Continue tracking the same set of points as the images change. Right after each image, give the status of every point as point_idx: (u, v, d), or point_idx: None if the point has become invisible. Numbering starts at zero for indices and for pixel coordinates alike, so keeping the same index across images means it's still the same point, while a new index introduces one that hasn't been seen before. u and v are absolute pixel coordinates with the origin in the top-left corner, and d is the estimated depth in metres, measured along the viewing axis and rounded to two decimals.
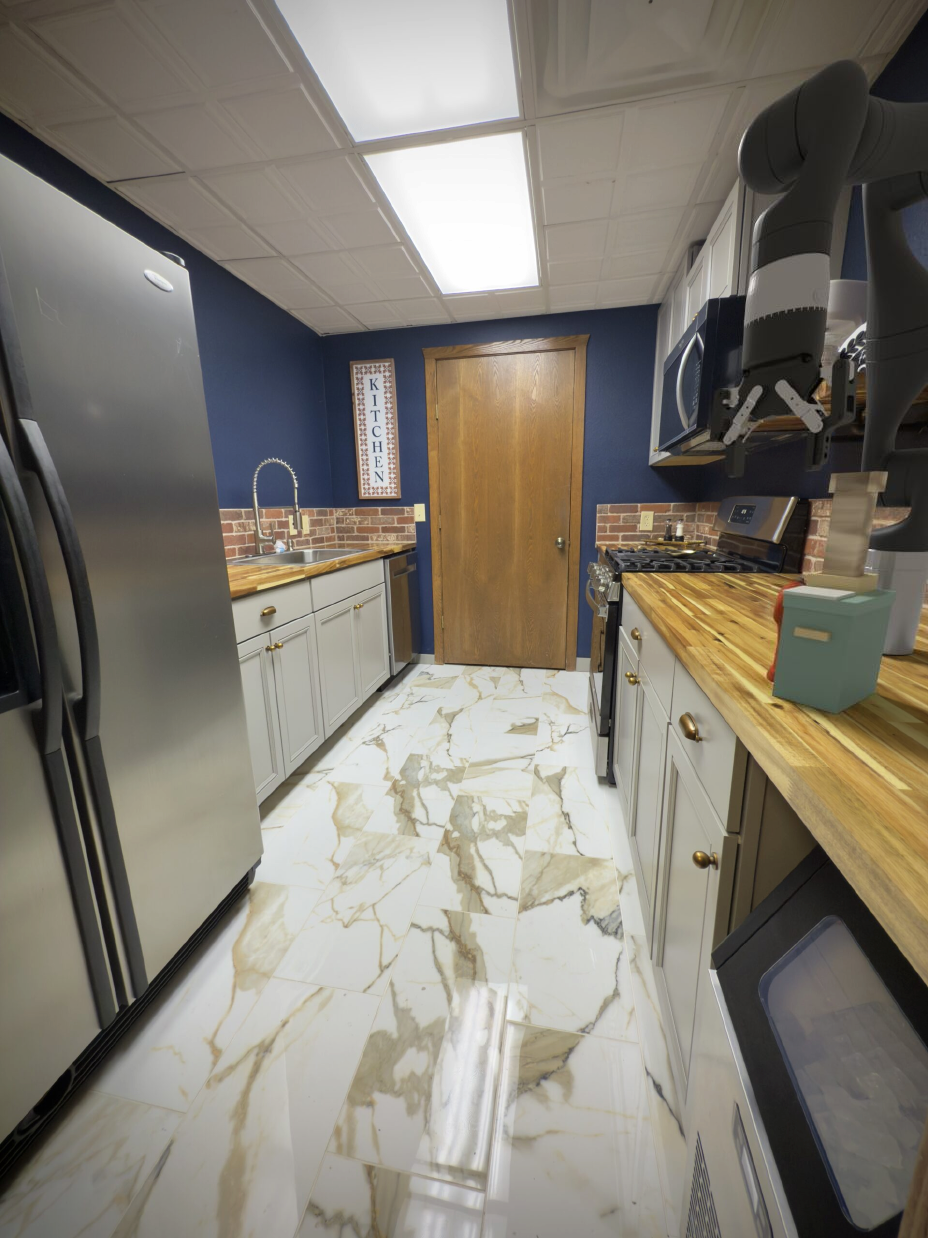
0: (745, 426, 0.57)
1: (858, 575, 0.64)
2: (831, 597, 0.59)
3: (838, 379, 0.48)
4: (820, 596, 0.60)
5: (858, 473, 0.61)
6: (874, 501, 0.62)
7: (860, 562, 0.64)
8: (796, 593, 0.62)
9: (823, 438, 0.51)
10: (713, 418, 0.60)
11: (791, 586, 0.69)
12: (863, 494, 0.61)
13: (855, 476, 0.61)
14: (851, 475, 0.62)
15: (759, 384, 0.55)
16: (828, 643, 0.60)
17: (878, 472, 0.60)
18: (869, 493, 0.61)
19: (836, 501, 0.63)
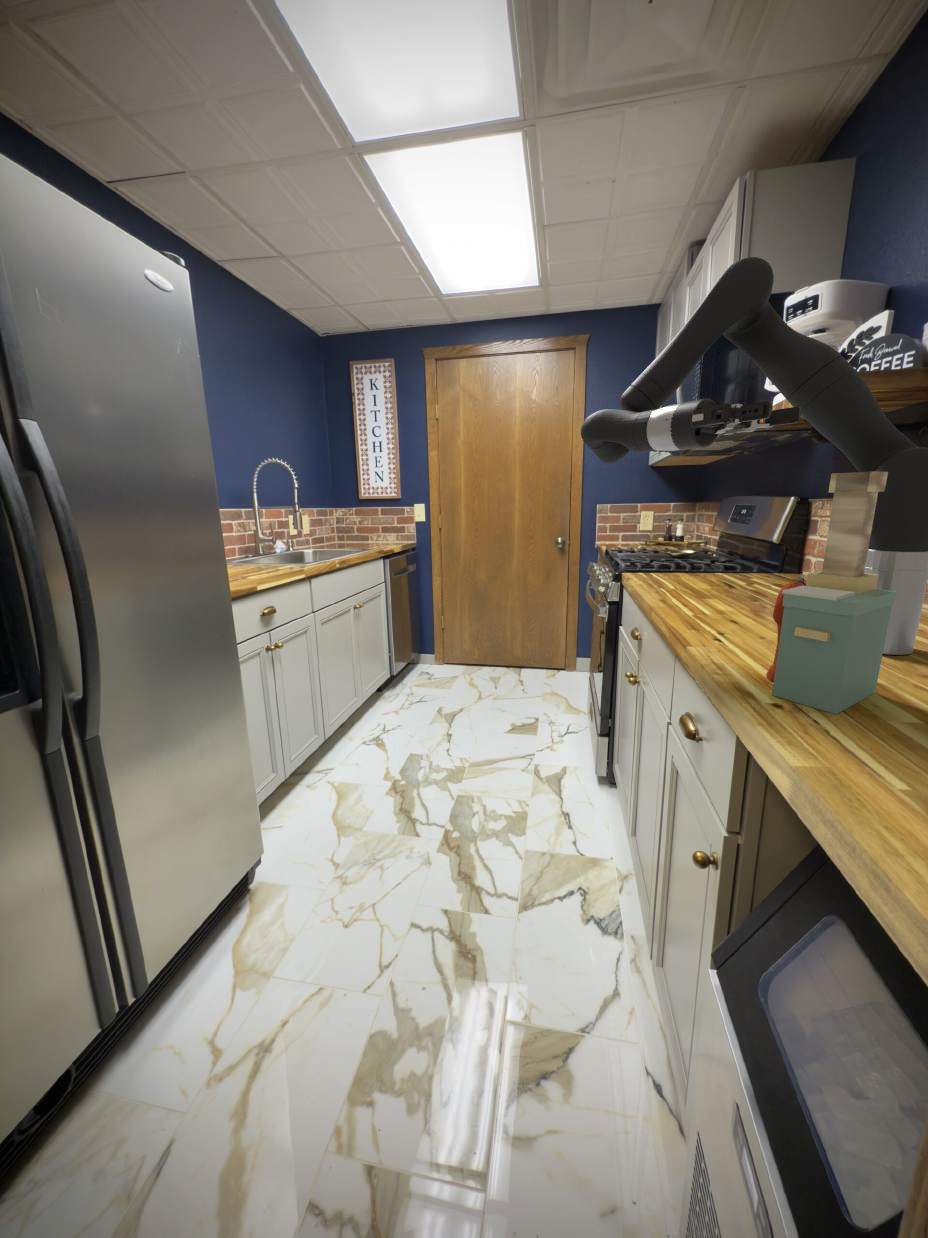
0: (755, 423, 0.76)
1: (858, 575, 0.64)
2: (831, 597, 0.59)
3: (703, 425, 0.74)
4: (820, 596, 0.60)
5: (858, 473, 0.61)
6: (874, 501, 0.62)
7: (860, 562, 0.64)
8: (796, 593, 0.62)
9: (743, 416, 0.70)
10: None
11: (791, 586, 0.69)
12: (863, 494, 0.61)
13: (855, 476, 0.61)
14: (851, 475, 0.62)
15: None
16: (828, 643, 0.60)
17: (878, 472, 0.60)
18: (869, 493, 0.61)
19: (836, 501, 0.63)
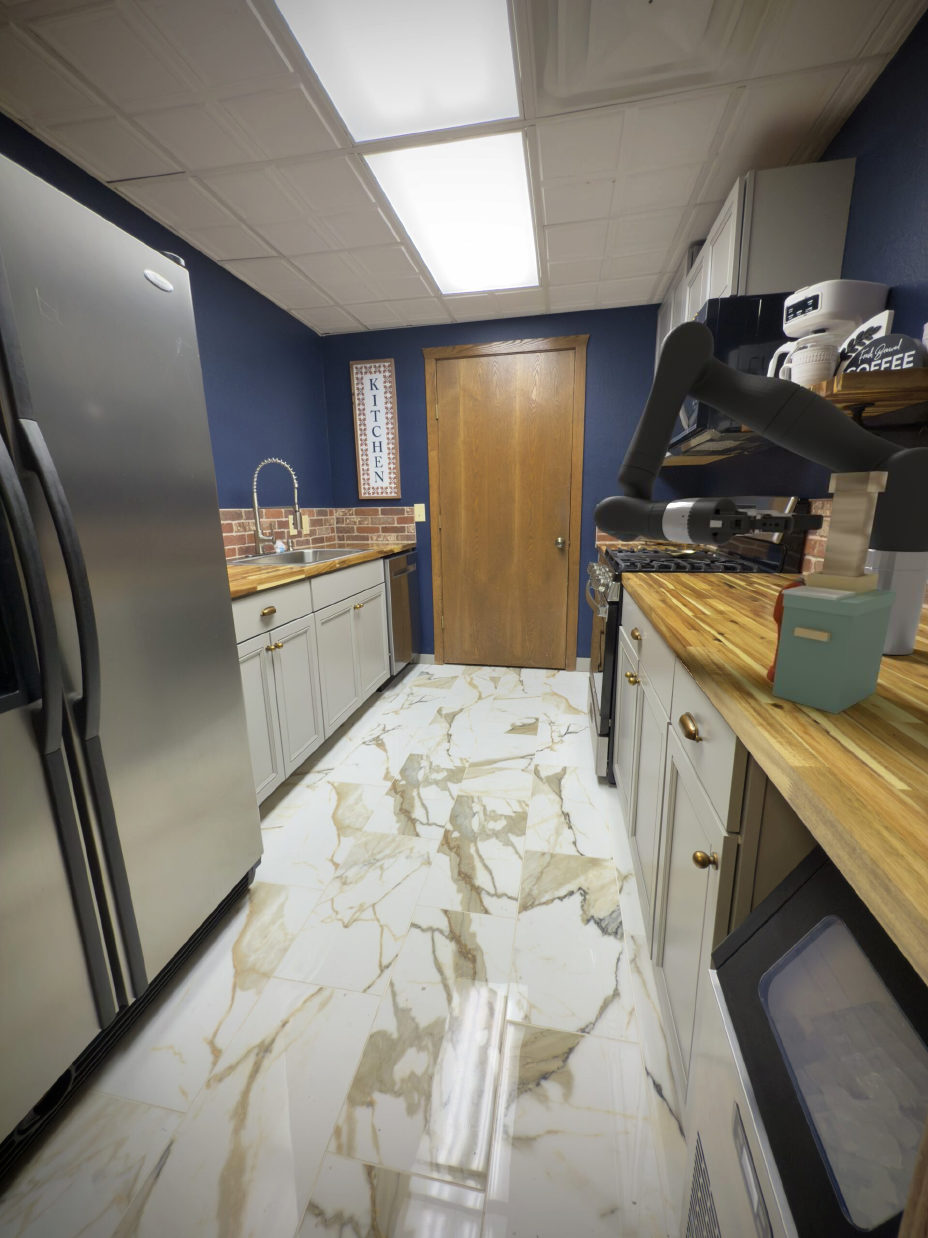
0: None
1: (858, 575, 0.64)
2: (831, 597, 0.59)
3: (721, 532, 0.72)
4: (820, 596, 0.60)
5: (858, 473, 0.61)
6: (874, 501, 0.62)
7: (860, 562, 0.64)
8: (796, 593, 0.62)
9: (763, 528, 0.68)
10: None
11: (791, 586, 0.69)
12: (863, 494, 0.61)
13: (855, 476, 0.61)
14: (851, 475, 0.62)
15: None
16: (828, 643, 0.60)
17: (878, 472, 0.60)
18: (869, 493, 0.61)
19: (836, 501, 0.63)
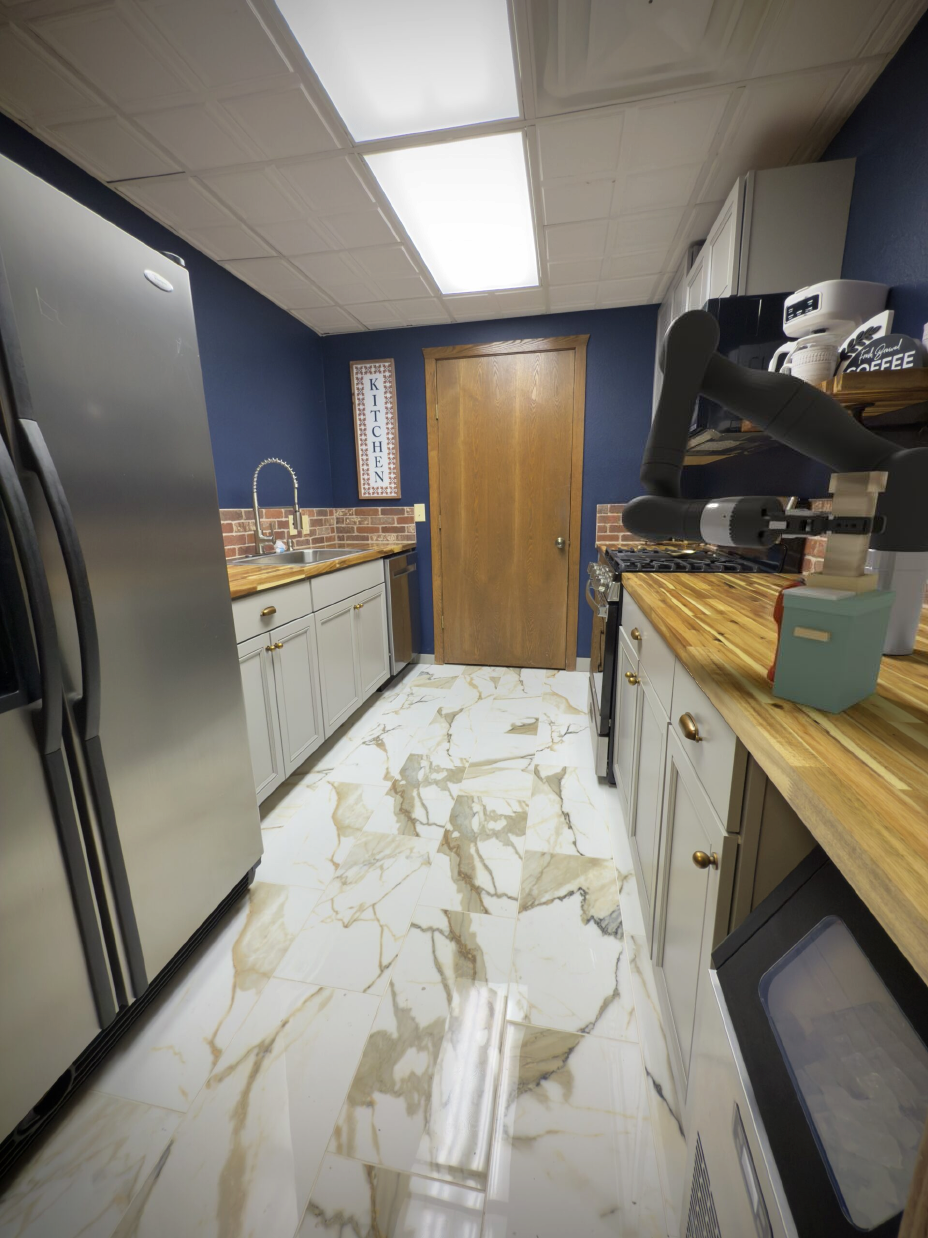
0: None
1: (858, 575, 0.64)
2: (831, 597, 0.59)
3: (784, 534, 0.66)
4: (820, 596, 0.60)
5: (858, 473, 0.61)
6: (874, 501, 0.62)
7: (860, 562, 0.64)
8: (796, 593, 0.62)
9: (837, 530, 0.63)
10: None
11: (791, 586, 0.69)
12: (863, 494, 0.61)
13: (855, 476, 0.61)
14: (851, 475, 0.62)
15: None
16: (828, 643, 0.60)
17: (878, 472, 0.60)
18: (869, 493, 0.61)
19: (836, 501, 0.63)
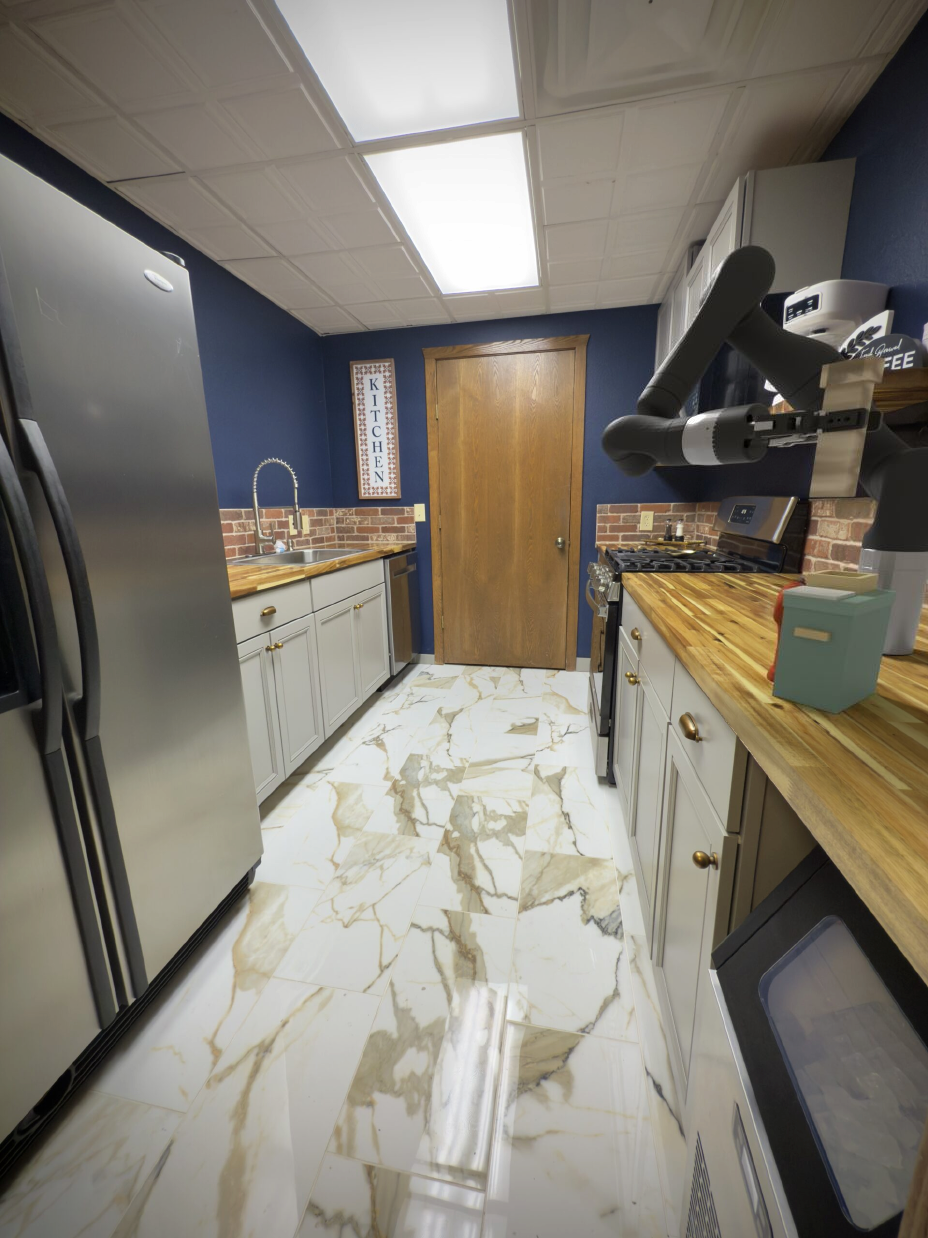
0: None
1: (852, 479, 0.58)
2: (831, 597, 0.59)
3: (770, 436, 0.60)
4: (820, 596, 0.60)
5: (852, 360, 0.55)
6: (870, 394, 0.56)
7: (854, 464, 0.57)
8: (796, 593, 0.62)
9: (829, 426, 0.56)
10: None
11: (791, 586, 0.69)
12: (857, 383, 0.55)
13: (849, 364, 0.55)
14: (844, 364, 0.55)
15: None
16: (828, 643, 0.60)
17: (874, 356, 0.54)
18: (864, 382, 0.55)
19: (828, 396, 0.57)
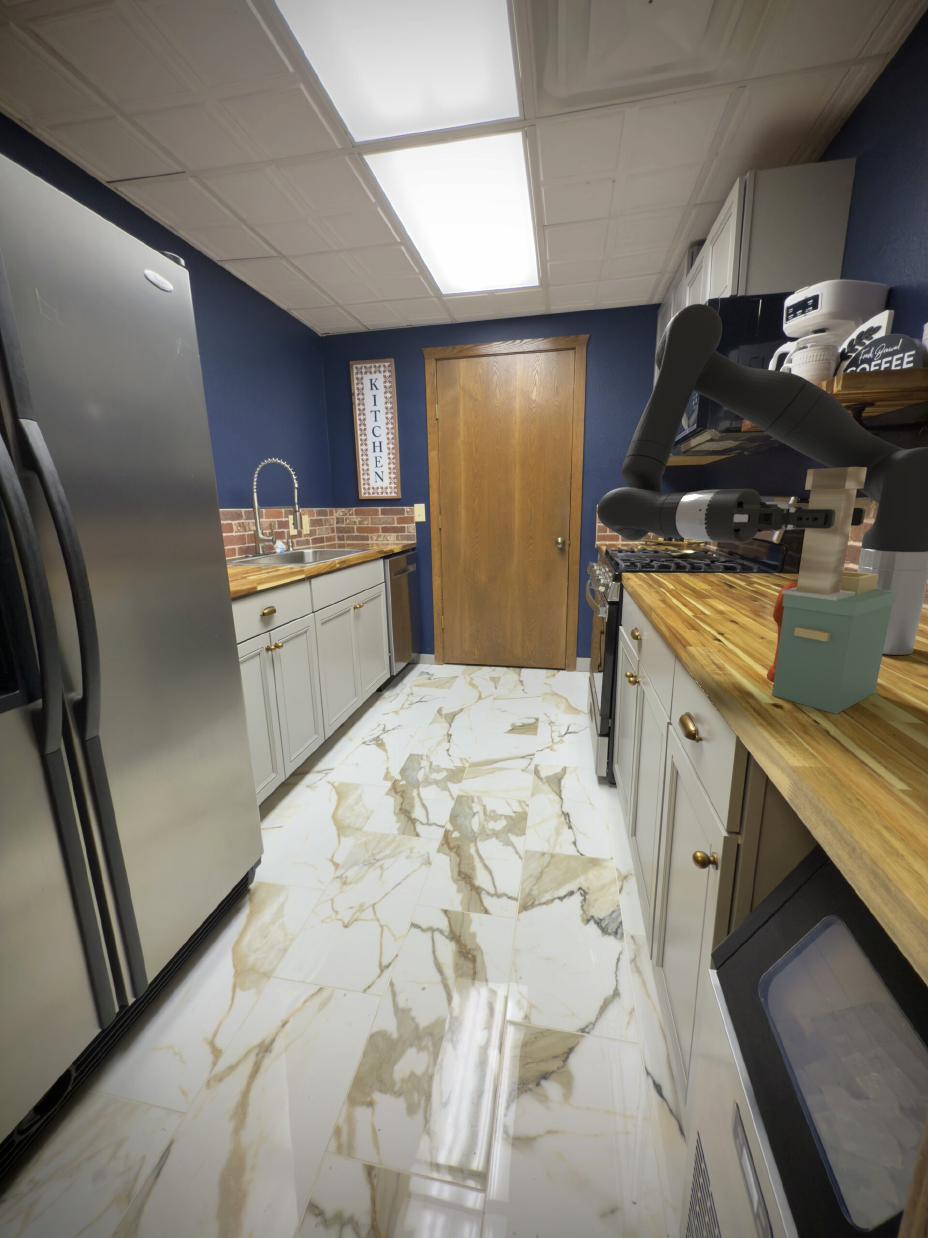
0: None
1: (836, 577, 0.61)
2: (831, 597, 0.59)
3: (747, 527, 0.63)
4: (820, 596, 0.60)
5: (835, 469, 0.58)
6: (852, 498, 0.59)
7: (838, 563, 0.60)
8: (796, 593, 0.62)
9: (798, 523, 0.59)
10: None
11: (791, 586, 0.69)
12: (840, 491, 0.57)
13: (832, 472, 0.58)
14: (828, 471, 0.58)
15: None
16: (828, 643, 0.60)
17: (856, 468, 0.56)
18: (847, 490, 0.58)
19: (813, 498, 0.60)
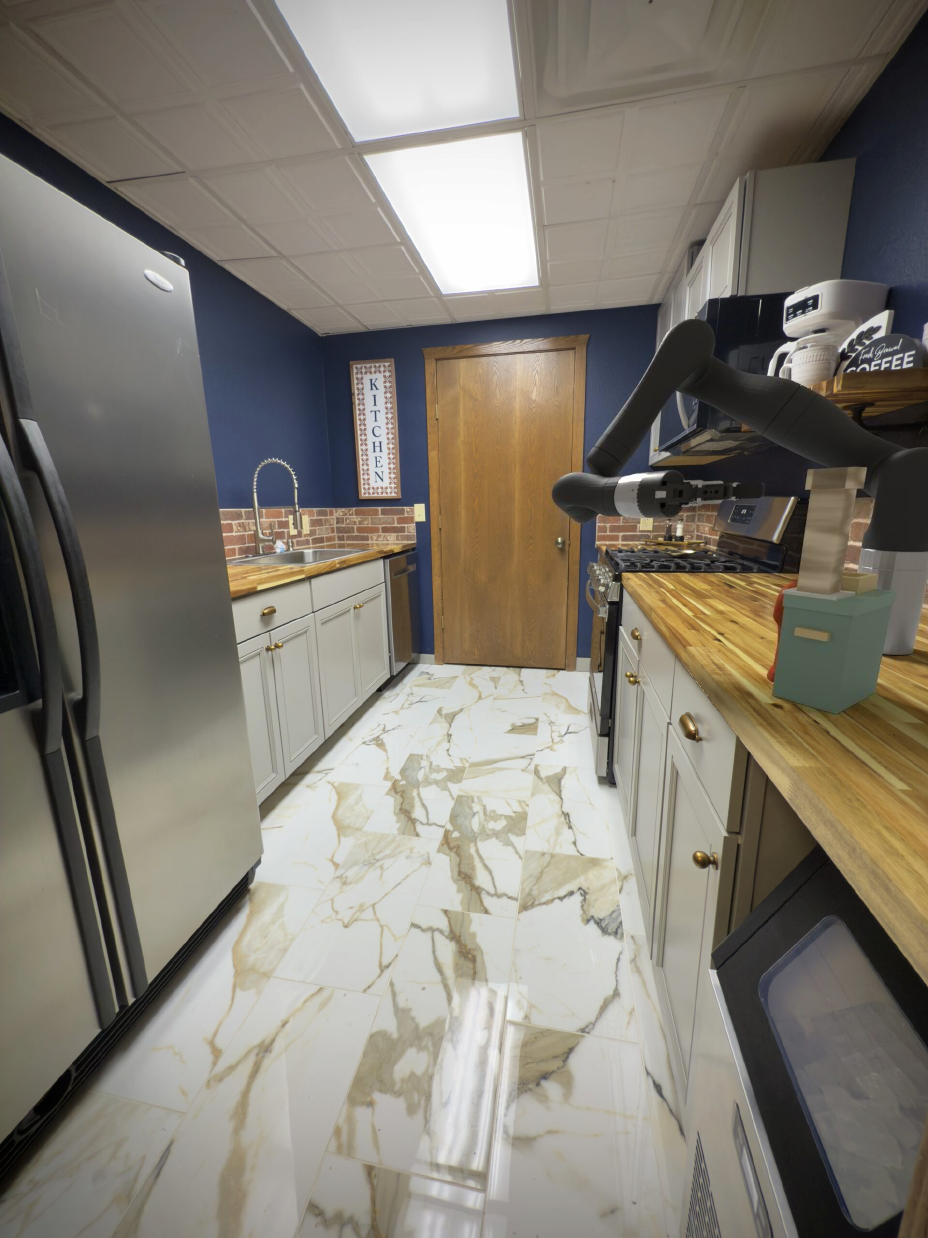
0: None
1: (836, 577, 0.61)
2: (831, 597, 0.59)
3: None
4: (820, 596, 0.60)
5: (835, 469, 0.58)
6: (852, 498, 0.59)
7: (838, 563, 0.60)
8: (796, 593, 0.62)
9: (704, 496, 0.69)
10: None
11: (791, 586, 0.69)
12: (840, 491, 0.57)
13: (832, 472, 0.58)
14: (828, 471, 0.58)
15: None
16: (828, 643, 0.60)
17: (856, 468, 0.56)
18: (847, 490, 0.58)
19: (813, 498, 0.60)
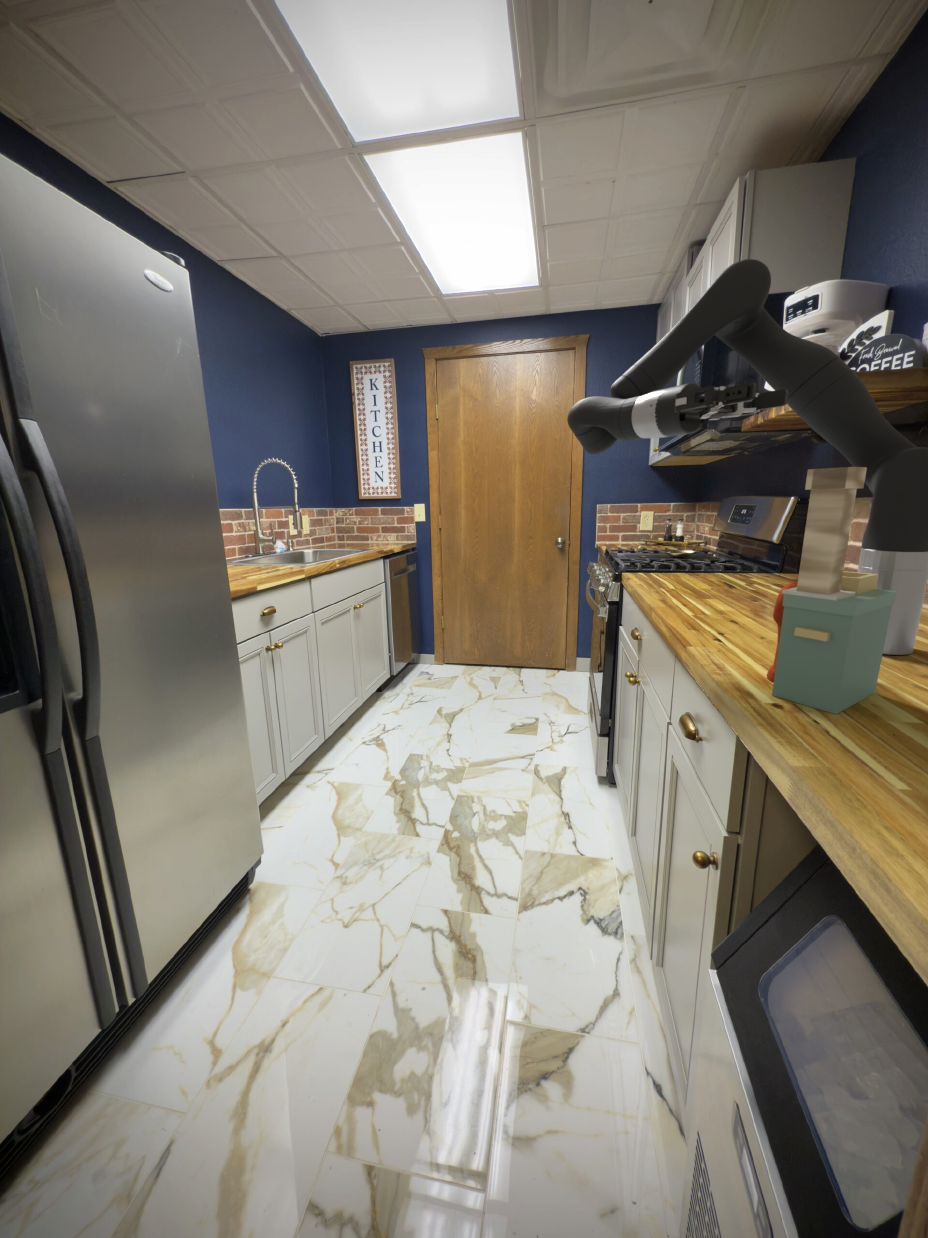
0: (741, 408, 0.74)
1: (836, 577, 0.61)
2: (831, 597, 0.59)
3: (686, 409, 0.72)
4: (820, 596, 0.60)
5: (835, 469, 0.58)
6: (852, 498, 0.59)
7: (838, 563, 0.60)
8: (796, 593, 0.62)
9: (727, 399, 0.68)
10: (744, 415, 0.77)
11: (791, 586, 0.69)
12: (840, 491, 0.57)
13: (832, 472, 0.58)
14: (828, 471, 0.58)
15: None
16: (828, 643, 0.60)
17: (856, 468, 0.56)
18: (847, 490, 0.58)
19: (813, 498, 0.60)
